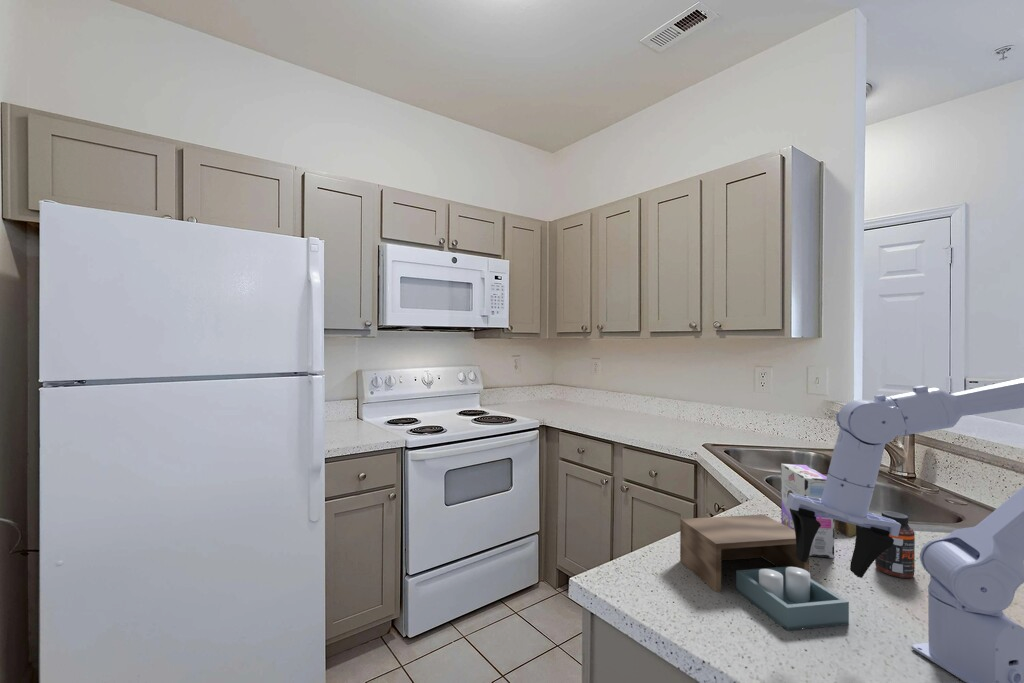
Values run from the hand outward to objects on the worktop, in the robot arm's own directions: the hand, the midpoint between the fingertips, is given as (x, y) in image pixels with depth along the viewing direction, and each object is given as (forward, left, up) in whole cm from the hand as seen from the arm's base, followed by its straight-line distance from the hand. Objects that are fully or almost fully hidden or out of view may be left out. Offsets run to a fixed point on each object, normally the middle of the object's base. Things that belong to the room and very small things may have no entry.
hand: (828, 566), depth 69 cm
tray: (+8, -1, -11) cm, 14 cm away
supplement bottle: (+16, -31, -11) cm, 36 cm away
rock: (+36, -42, -11) cm, 56 cm away
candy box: (+30, -24, -11) cm, 40 cm away
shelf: (+20, -1, -11) cm, 23 cm away
